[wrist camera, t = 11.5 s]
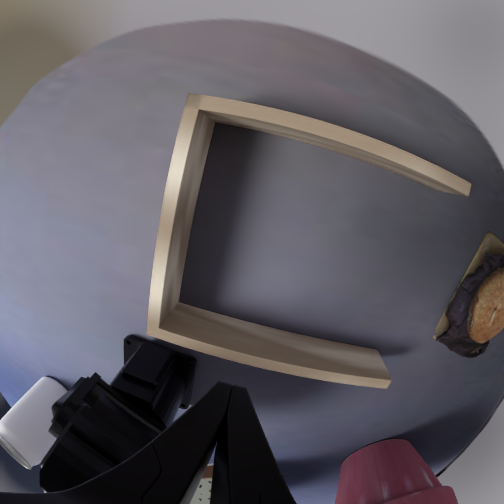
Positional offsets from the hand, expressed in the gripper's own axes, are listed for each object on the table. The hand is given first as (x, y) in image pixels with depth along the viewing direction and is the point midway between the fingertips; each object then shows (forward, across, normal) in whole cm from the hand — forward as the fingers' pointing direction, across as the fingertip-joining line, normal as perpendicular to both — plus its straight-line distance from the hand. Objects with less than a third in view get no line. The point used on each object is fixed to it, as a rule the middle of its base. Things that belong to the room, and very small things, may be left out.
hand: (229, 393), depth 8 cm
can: (+12, +20, +24) cm, 34 cm away
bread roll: (+13, -20, -2) cm, 24 cm away
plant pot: (+12, -20, +20) cm, 31 cm away
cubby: (+12, -2, -2) cm, 12 cm away
